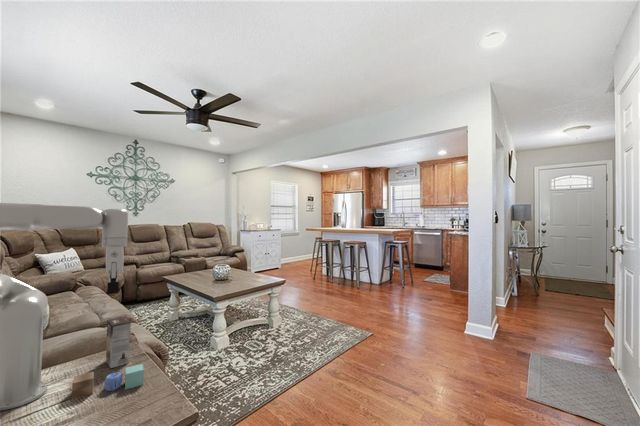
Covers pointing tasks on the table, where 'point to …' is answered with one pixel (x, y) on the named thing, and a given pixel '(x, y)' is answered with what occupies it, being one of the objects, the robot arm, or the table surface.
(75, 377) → the walnut block
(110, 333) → the coffee box
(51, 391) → the table surface
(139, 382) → the teal block
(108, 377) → the decorative dice
